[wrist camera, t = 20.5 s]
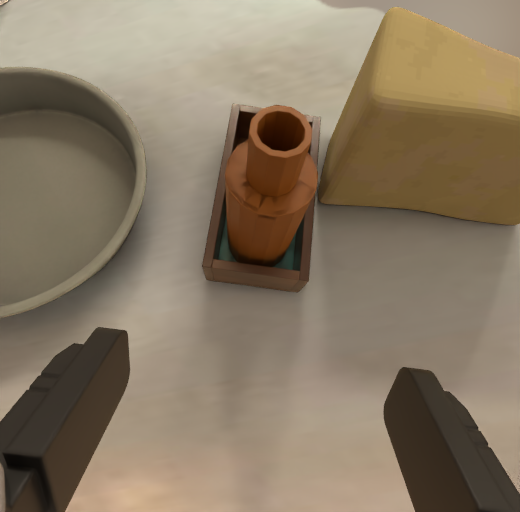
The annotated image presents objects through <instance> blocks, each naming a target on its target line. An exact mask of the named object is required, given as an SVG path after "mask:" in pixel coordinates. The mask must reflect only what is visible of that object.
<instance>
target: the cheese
mask: <svg viewBox="0 0 520 512" xmlns="http://www.w3.org/2000/svg"><path fill="white" fill-rule="evenodd" d="M318 199H319V201H320V202H322V203H324V204H335V205H356V206H375V207H391V208H402V209H411V210H419V211H425V212H431V213H436V214H440V215H445V216H450V217H455V218H460V219H466V220H473V221H480V222H488V223H496V224H504V225H516V224H520V58H517V57H515V56H512V55H509V54H506V53H504V52H501V51H499V50H496V49H493V48H491V47H489V46H486V45H484V44H482V43H479V42H477V41H475V40H473V39H471V38H468V37H466V36H464V35H462V34H460V33H458V32H456V31H454V30H451V29H449V28H447V27H445V26H443V25H441V24H439V23H436V22H434V21H432V20H430V19H427V18H425V17H423V16H420V15H418V14H415V13H413V12H411V11H408V10H405V9H403V8H399V7H393V8H391V9H389V10H388V12H387V13H386V14H385V16H384V18H383V20H382V22H381V24H380V26H379V29H378V31H377V33H376V35H375V38H374V40H373V42H372V45H371V47H370V49H369V51H368V54H367V56H366V58H365V61H364V63H363V65H362V67H361V70H360V72H359V74H358V77H357V79H356V81H355V83H354V86H353V88H352V90H351V93H350V95H349V97H348V100H347V102H346V104H345V107H344V109H343V111H342V114H341V116H340V118H339V121H338V123H337V125H336V128H335V130H334V132H333V135H332V137H331V139H330V143H329V146H328V150H327V154H326V159H325V163H324V167H323V171H322V175H321V180H320V184H319V189H318Z"/></svg>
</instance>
